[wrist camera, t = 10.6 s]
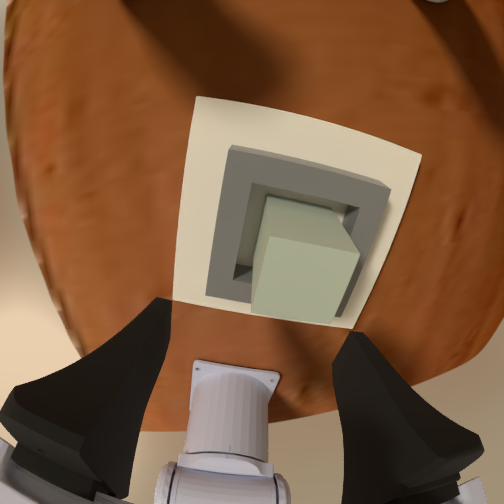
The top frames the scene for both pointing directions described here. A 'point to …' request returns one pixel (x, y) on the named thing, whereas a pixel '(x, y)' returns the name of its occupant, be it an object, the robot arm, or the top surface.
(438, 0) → the energy drink
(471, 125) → the top surface
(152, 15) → the top surface
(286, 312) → the plug block
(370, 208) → the dock
